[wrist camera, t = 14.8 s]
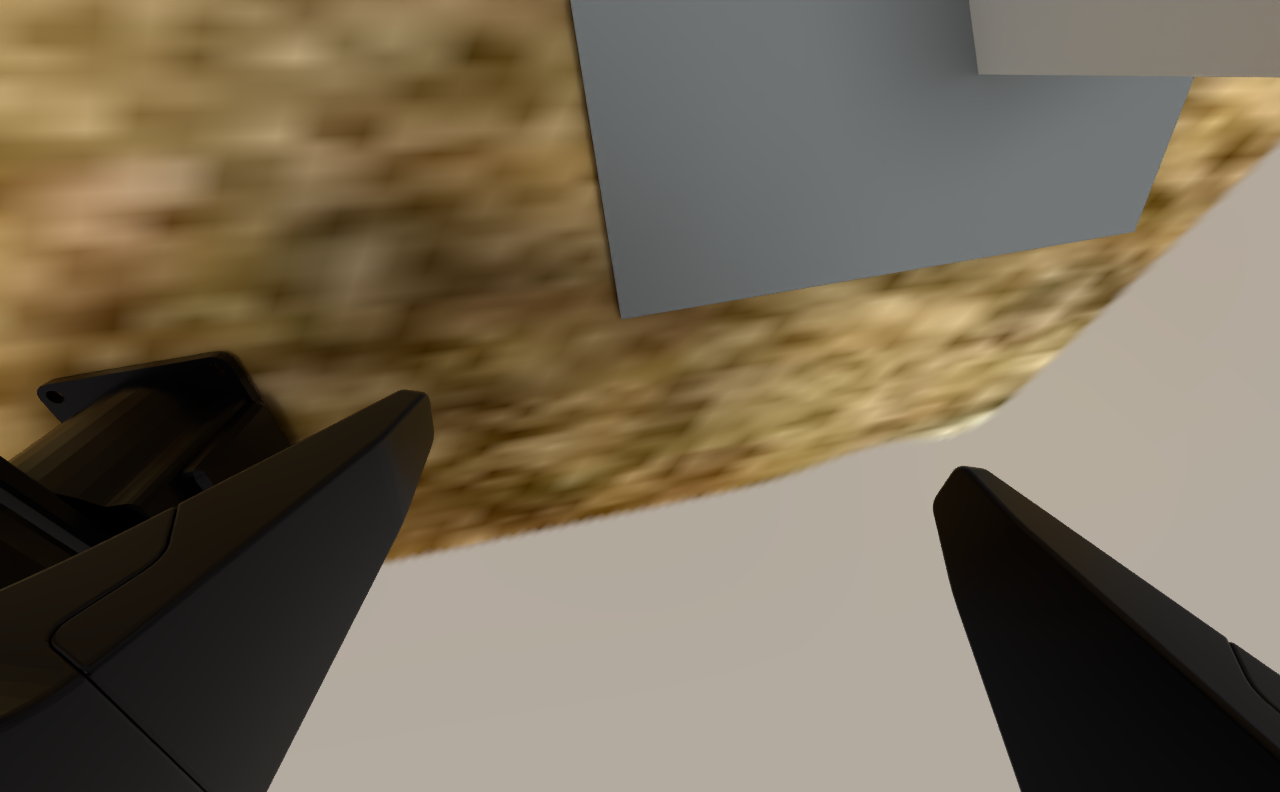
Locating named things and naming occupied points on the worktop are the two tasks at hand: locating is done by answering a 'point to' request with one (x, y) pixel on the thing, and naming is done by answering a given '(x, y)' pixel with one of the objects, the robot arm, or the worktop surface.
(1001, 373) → the worktop surface
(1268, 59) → the white rectangular block
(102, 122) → the worktop surface
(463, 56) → the worktop surface
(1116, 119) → the mat
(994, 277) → the worktop surface
